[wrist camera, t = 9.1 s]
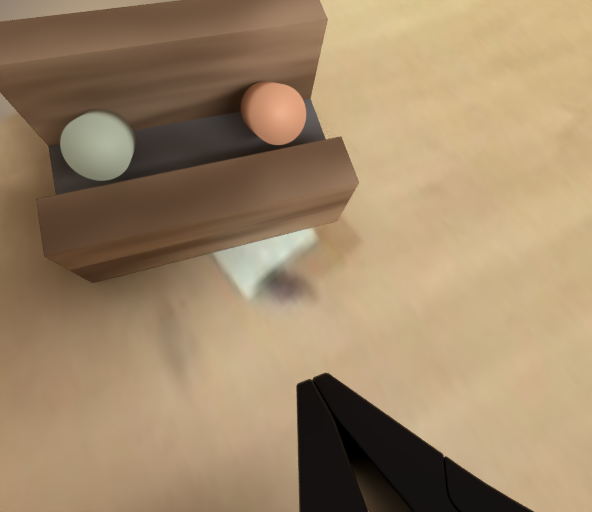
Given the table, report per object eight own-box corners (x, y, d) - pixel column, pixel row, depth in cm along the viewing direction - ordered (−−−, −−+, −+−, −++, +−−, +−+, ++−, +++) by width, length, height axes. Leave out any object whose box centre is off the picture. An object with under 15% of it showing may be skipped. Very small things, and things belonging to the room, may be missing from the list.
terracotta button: (303, 160, 22) (315, 113, 18) (255, 170, 22) (256, 124, 18) (283, 102, 23) (290, 46, 19) (237, 110, 23) (234, 55, 19)
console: (337, 221, 26) (380, 145, 17) (92, 282, 22) (-5, 228, 14) (294, 102, 28) (313, -16, 20) (68, 143, 25) (-27, 24, 16)
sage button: (151, 192, 21) (126, 149, 17) (94, 205, 20) (54, 163, 16) (136, 128, 22) (110, 73, 18) (82, 138, 21) (42, 84, 17)
